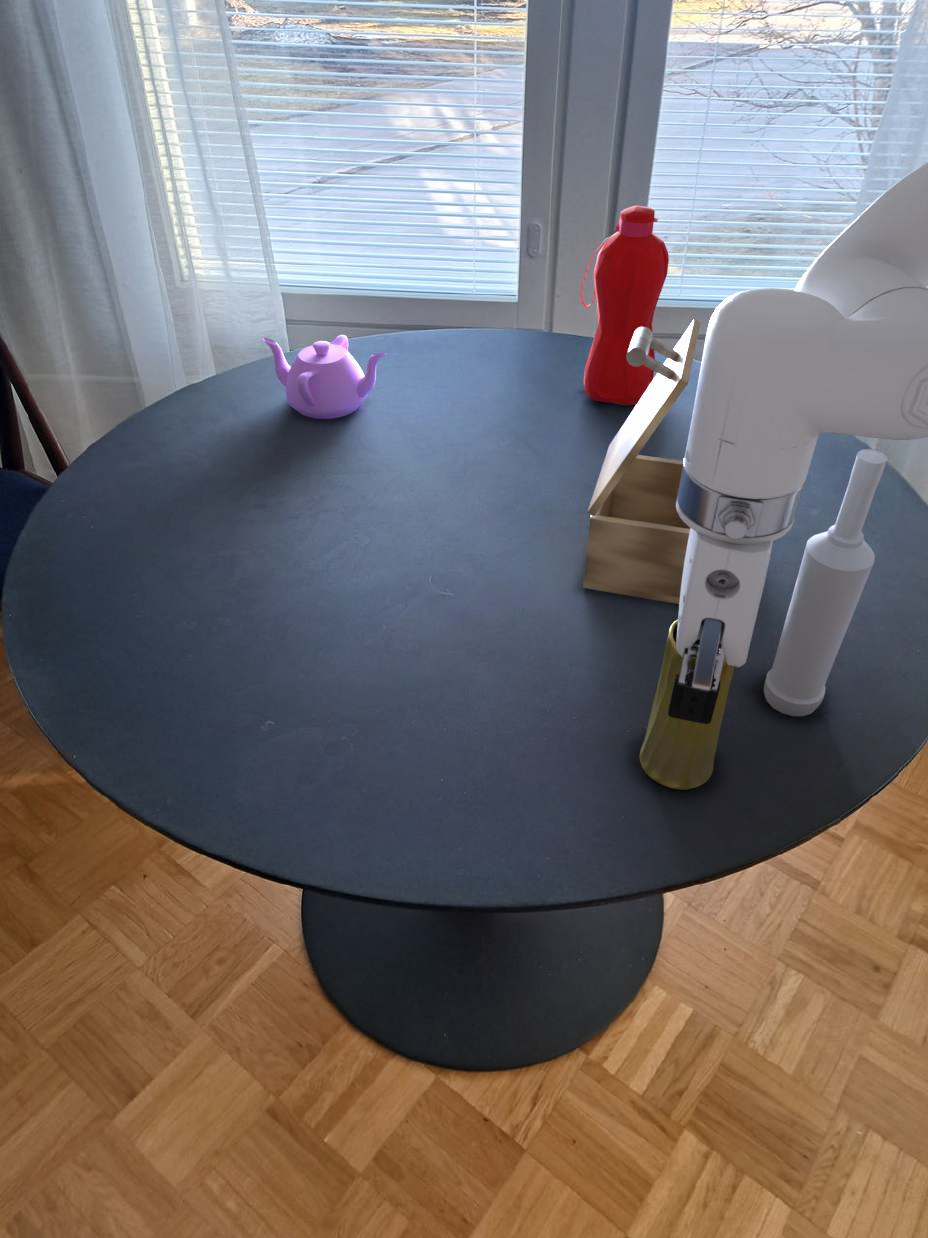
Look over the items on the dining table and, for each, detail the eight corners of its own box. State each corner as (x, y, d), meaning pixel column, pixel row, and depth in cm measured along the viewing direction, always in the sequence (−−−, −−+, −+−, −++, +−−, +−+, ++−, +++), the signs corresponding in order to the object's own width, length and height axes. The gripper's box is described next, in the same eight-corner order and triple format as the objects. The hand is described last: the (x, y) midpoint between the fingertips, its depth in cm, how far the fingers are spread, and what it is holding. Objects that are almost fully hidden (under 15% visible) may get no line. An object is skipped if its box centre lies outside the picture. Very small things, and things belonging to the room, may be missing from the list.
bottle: (804, 674, 82) (886, 435, 65) (831, 714, 78) (925, 471, 61) (752, 681, 81) (821, 442, 65) (776, 722, 77) (857, 478, 61)
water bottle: (581, 373, 131) (596, 193, 114) (654, 383, 128) (681, 201, 111) (566, 400, 124) (579, 214, 108) (642, 412, 121) (668, 222, 105)
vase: (647, 727, 77) (671, 602, 67) (718, 746, 75) (752, 621, 66) (632, 778, 72) (654, 653, 63) (706, 800, 71) (741, 673, 61)
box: (741, 538, 98) (757, 470, 92) (735, 613, 88) (753, 543, 83) (603, 517, 102) (611, 451, 96) (582, 587, 92) (590, 518, 86)
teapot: (271, 395, 126) (261, 335, 120) (362, 376, 130) (356, 318, 125) (295, 431, 118) (285, 369, 112) (390, 410, 122) (386, 349, 116)
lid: (701, 322, 84) (653, 294, 84) (688, 382, 74) (633, 351, 74) (615, 449, 96) (572, 425, 95) (594, 516, 86) (546, 489, 85)
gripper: (799, 581, 49) (736, 784, 61) (798, 437, 62) (746, 629, 73) (664, 560, 51) (628, 762, 63) (691, 423, 63) (656, 613, 75)
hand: (692, 688), depth 68 cm, fingers closed on vase, 5 cm apart
